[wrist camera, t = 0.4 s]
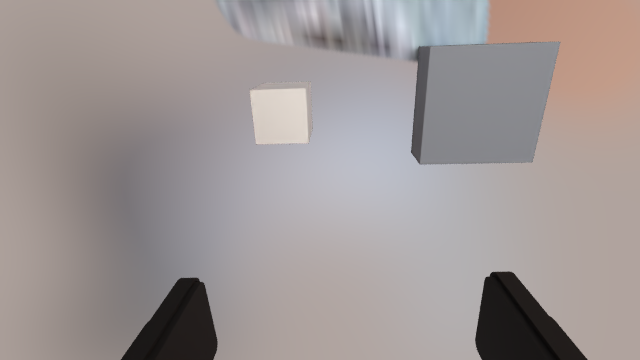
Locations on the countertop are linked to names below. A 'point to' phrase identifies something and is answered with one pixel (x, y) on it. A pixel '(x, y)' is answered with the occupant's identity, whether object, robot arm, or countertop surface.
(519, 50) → the plinth
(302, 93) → the cube
